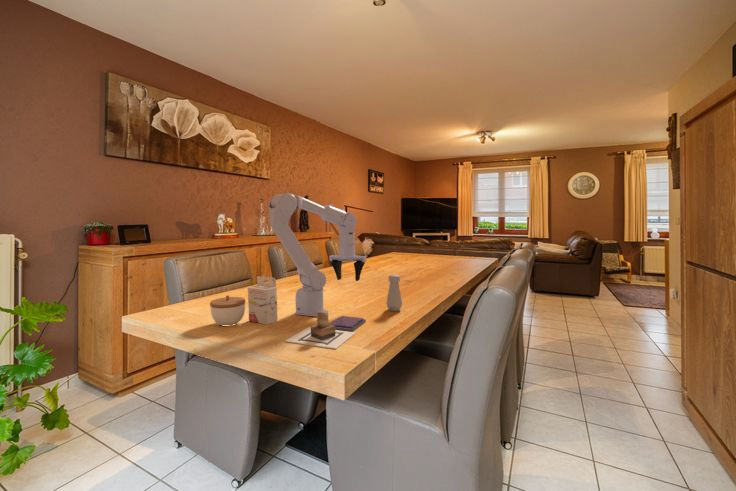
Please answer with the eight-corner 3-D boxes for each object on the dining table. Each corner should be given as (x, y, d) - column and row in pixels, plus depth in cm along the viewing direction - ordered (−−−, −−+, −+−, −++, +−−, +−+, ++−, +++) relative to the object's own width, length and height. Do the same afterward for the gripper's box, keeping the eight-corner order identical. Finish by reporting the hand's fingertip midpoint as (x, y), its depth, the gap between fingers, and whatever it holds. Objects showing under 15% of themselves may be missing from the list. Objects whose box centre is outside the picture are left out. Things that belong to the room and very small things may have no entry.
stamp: (310, 336, 102) (310, 312, 101) (324, 331, 105) (324, 309, 105) (321, 340, 98) (321, 315, 98) (335, 335, 102) (334, 312, 101)
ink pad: (327, 328, 110) (326, 323, 110) (341, 319, 119) (341, 315, 119) (353, 331, 106) (353, 326, 106) (365, 321, 116) (365, 317, 115)
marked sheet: (284, 341, 98) (284, 340, 98) (309, 327, 110) (309, 326, 110) (336, 349, 92) (336, 347, 92) (355, 333, 104) (355, 332, 104)
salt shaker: (401, 312, 126) (401, 276, 125) (385, 311, 127) (385, 276, 126) (402, 308, 132) (402, 273, 131) (387, 307, 133) (387, 273, 132)
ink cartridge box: (248, 321, 117) (246, 278, 116) (258, 317, 121) (256, 275, 120) (268, 325, 113) (266, 280, 112) (278, 320, 118) (276, 277, 116)
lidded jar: (252, 319, 119) (251, 292, 118) (233, 330, 109) (232, 300, 108) (224, 318, 122) (223, 291, 121) (203, 327, 111) (202, 298, 110)
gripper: (369, 243, 133) (369, 278, 135) (334, 243, 139) (336, 277, 140) (361, 245, 127) (362, 282, 128) (326, 244, 132) (327, 280, 134)
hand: (348, 279), depth 134 cm, fingers open, 7 cm apart
